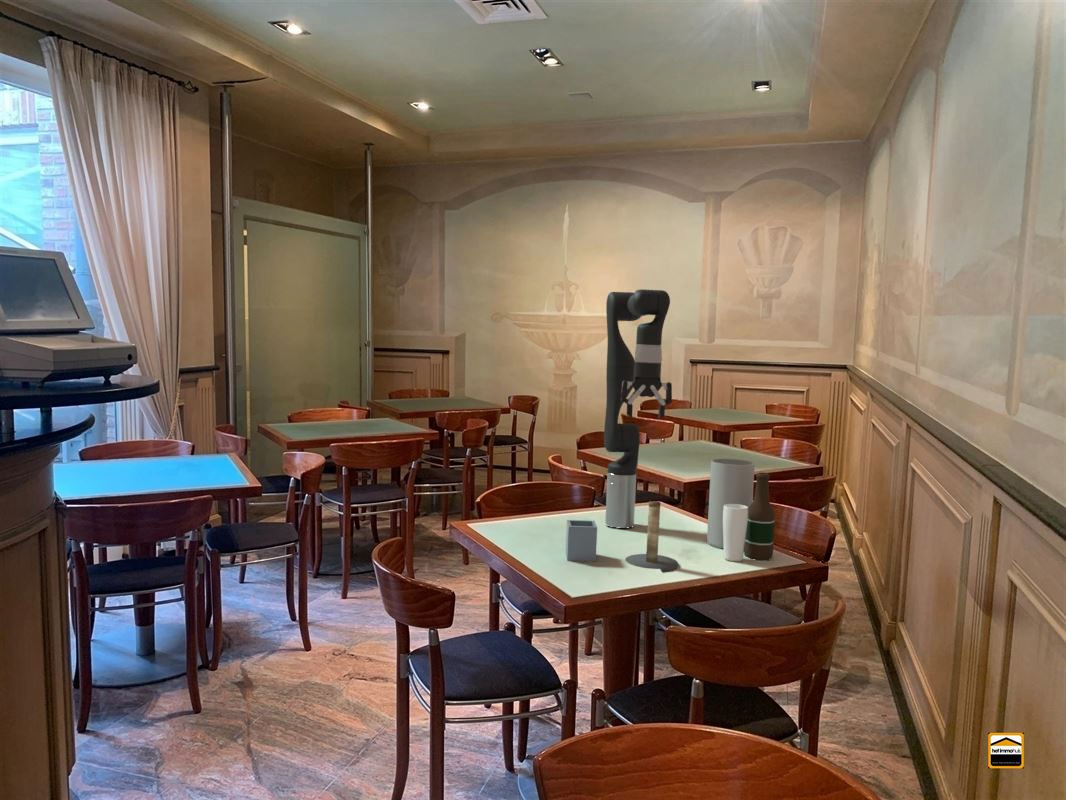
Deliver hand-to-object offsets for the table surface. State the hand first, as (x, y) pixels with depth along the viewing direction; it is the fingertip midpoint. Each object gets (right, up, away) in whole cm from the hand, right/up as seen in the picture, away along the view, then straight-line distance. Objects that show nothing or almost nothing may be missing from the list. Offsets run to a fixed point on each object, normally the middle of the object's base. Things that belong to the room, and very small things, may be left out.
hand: (645, 418), depth 221 cm
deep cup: (-19, -38, -10) cm, 44 cm away
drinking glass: (+24, -39, -4) cm, 46 cm away
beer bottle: (+32, -40, -1) cm, 51 cm away
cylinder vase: (+26, -38, +12) cm, 48 cm away
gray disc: (0, -39, -12) cm, 41 cm away
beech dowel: (0, -38, -12) cm, 40 cm away
